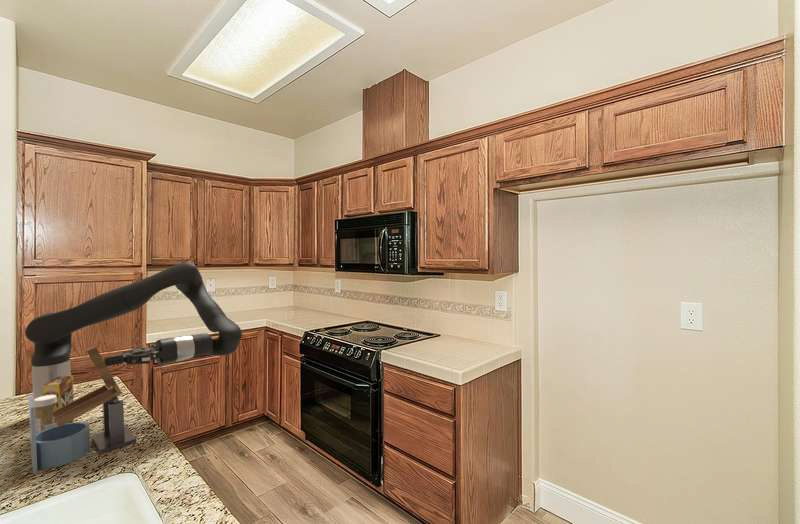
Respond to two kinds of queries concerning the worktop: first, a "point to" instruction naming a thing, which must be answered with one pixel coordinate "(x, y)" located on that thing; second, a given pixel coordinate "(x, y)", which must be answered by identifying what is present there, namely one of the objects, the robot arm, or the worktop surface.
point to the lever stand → (113, 428)
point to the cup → (57, 442)
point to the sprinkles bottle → (45, 412)
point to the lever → (92, 398)
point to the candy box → (60, 390)
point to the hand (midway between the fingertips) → (105, 361)
